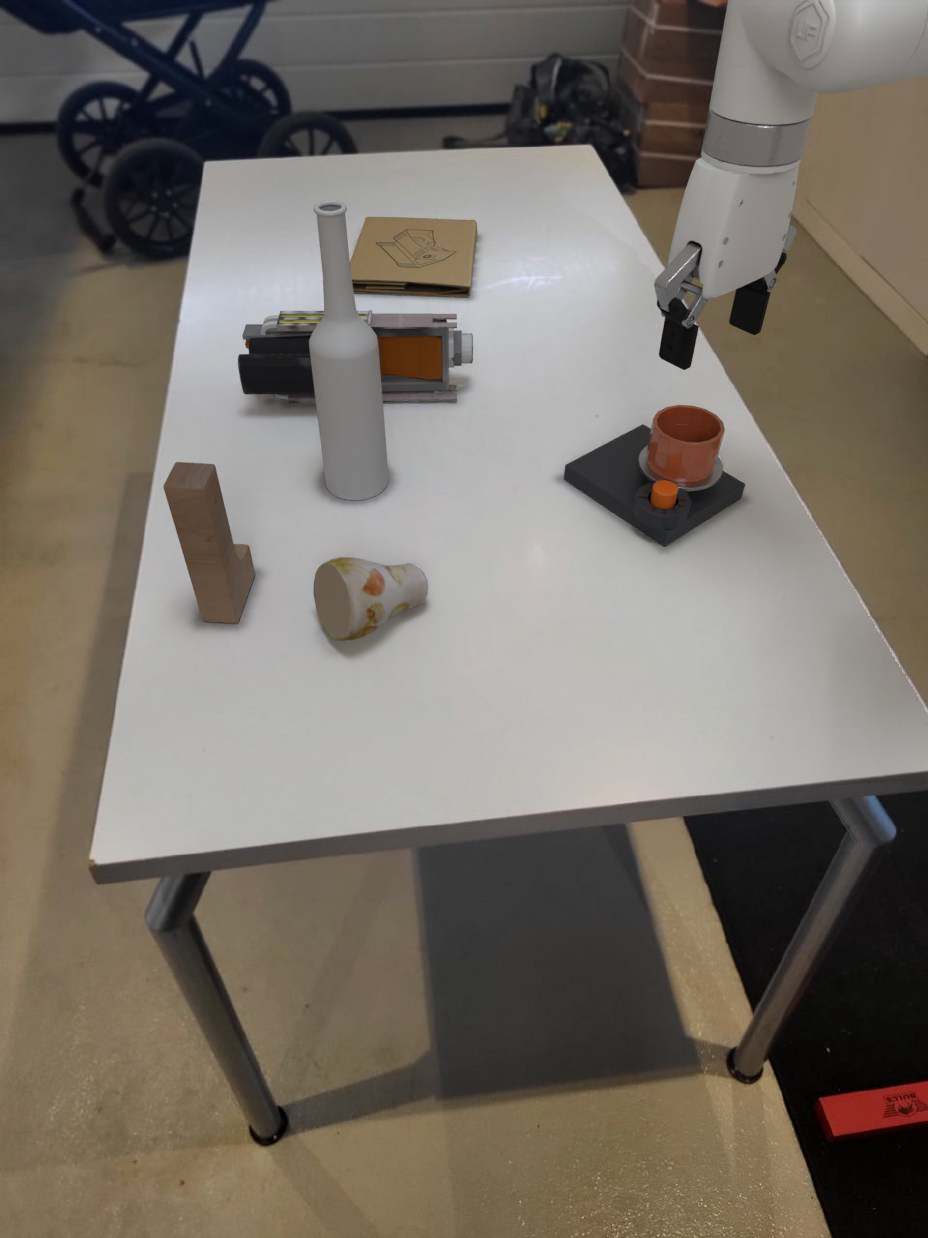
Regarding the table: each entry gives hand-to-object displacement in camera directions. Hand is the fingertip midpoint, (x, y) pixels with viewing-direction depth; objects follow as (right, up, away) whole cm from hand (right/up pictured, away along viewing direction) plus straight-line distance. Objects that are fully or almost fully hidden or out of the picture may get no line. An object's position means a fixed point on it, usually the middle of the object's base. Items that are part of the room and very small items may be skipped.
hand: (710, 345), depth 79 cm
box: (-29, +28, +50) cm, 65 cm away
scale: (-2, -11, +13) cm, 17 cm away
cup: (0, -9, +10) cm, 13 cm away
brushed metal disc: (0, -9, +10) cm, 13 cm away
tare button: (-3, -13, +6) cm, 15 cm away
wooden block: (-43, -23, +1) cm, 49 cm away
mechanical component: (-34, +2, +25) cm, 42 cm away
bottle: (-33, -10, +13) cm, 37 cm away
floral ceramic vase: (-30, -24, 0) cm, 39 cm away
